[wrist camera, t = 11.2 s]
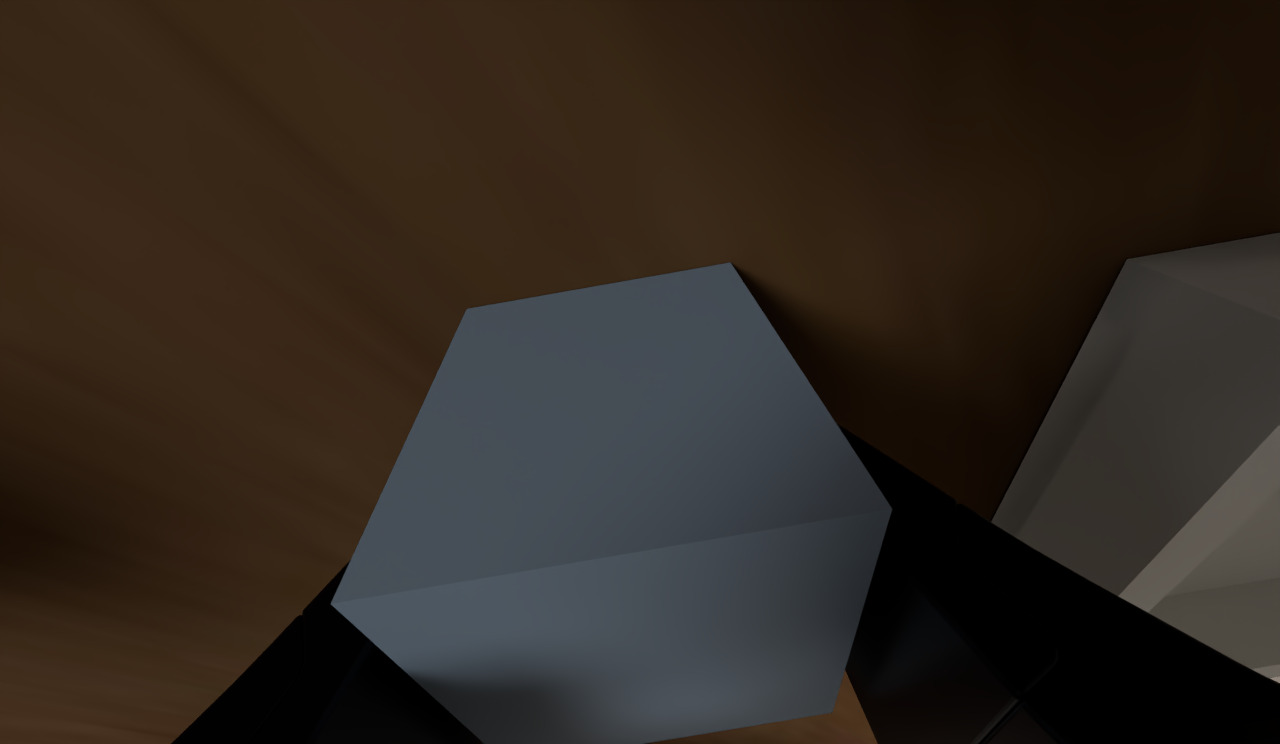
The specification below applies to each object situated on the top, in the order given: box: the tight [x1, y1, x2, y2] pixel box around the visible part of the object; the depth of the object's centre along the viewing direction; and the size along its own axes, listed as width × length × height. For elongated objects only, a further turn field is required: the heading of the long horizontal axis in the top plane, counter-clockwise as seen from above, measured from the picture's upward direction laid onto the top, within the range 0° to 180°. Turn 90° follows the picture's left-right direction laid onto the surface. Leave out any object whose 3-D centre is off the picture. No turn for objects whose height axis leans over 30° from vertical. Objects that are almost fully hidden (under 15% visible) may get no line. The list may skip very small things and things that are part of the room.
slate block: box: [331, 263, 892, 744], centre depth 7 cm, size 4×4×5 cm
